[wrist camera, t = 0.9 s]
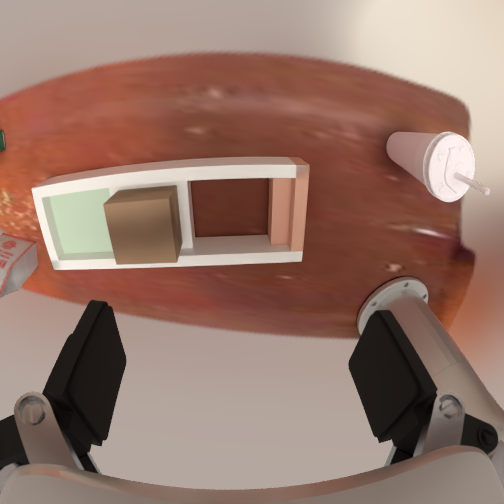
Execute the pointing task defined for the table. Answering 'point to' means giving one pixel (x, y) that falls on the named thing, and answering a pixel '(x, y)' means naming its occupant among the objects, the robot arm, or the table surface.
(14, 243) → the milk carton
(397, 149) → the smoothie
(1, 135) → the coffee box
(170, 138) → the table surface
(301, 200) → the box
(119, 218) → the block
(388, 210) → the table surface
